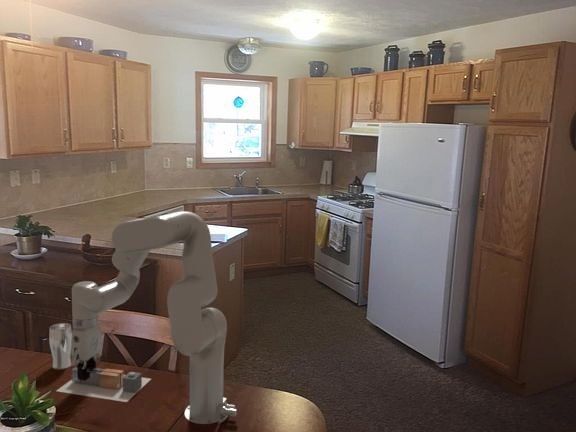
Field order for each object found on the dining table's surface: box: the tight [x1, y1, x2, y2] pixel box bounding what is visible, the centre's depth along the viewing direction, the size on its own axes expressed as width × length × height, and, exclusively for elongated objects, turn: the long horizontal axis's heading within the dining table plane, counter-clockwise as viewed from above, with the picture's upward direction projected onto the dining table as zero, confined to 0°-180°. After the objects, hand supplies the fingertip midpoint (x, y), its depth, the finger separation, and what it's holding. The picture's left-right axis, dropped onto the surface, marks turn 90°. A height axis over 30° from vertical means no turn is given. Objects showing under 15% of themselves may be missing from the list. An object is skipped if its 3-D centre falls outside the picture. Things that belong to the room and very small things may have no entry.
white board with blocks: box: [56, 371, 152, 403], centre depth 155 cm, size 24×15×6 cm, turn 77°
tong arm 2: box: [86, 366, 125, 386], centre depth 157 cm, size 16×2×4 cm, turn 79°
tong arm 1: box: [71, 366, 120, 389], centre depth 155 cm, size 16×2×4 cm, turn 76°
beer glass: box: [48, 322, 73, 370], centre depth 167 cm, size 7×7×15 cm
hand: (87, 375), depth 156 cm, fingers open, 3 cm apart
